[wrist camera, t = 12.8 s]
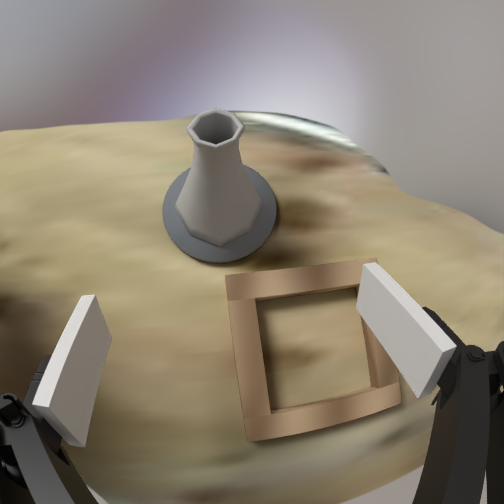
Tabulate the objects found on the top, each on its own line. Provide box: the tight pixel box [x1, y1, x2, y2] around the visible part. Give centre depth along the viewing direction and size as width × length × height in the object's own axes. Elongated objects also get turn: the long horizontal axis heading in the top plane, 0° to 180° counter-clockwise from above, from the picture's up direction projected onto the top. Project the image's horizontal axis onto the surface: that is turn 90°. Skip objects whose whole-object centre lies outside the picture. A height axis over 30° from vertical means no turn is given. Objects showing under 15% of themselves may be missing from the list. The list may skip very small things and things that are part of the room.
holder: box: [225, 258, 401, 442], centre depth 22 cm, size 13×13×2 cm
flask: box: [175, 108, 263, 247], centre depth 20 cm, size 7×7×10 cm
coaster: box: [163, 165, 276, 263], centre depth 25 cm, size 10×10×1 cm
